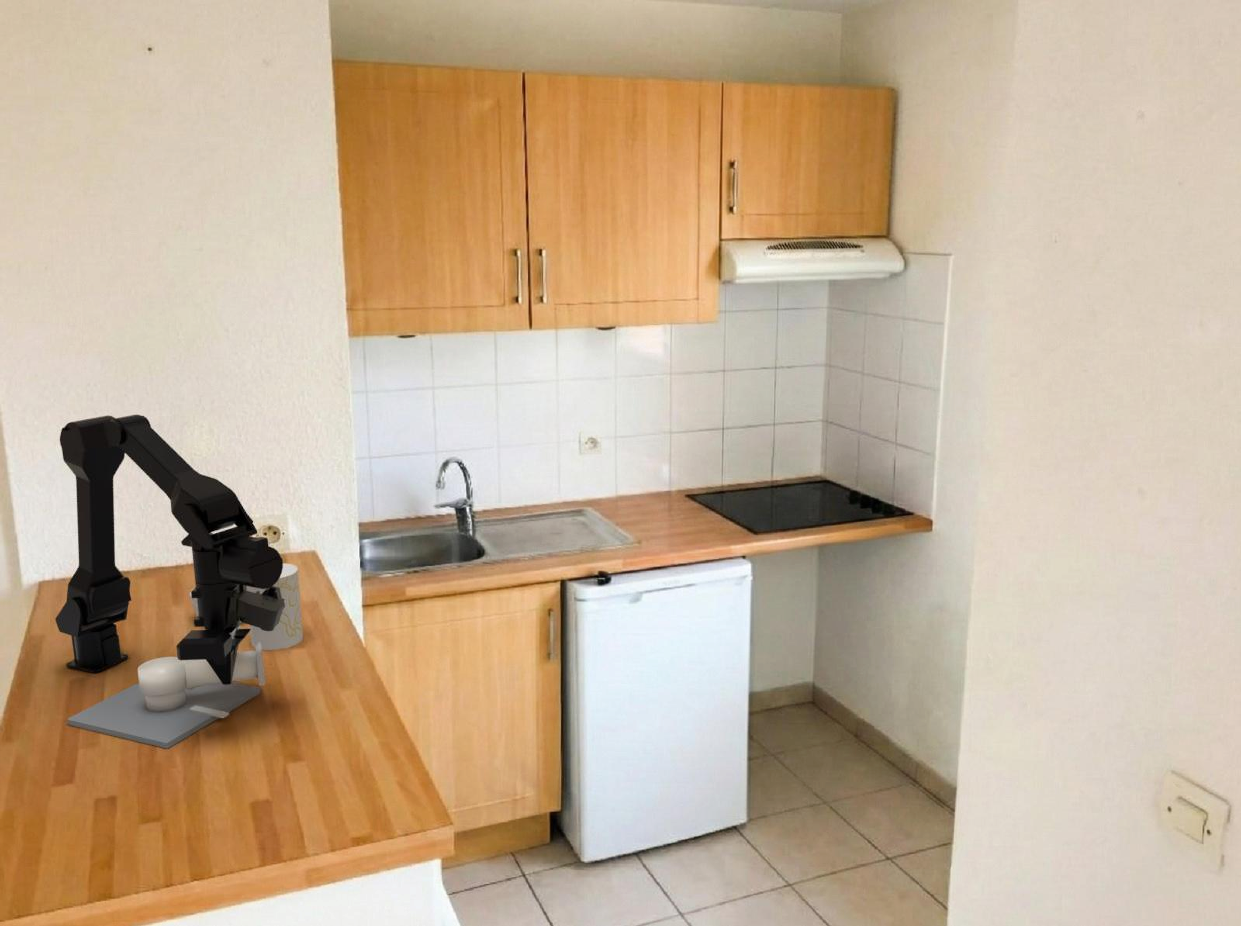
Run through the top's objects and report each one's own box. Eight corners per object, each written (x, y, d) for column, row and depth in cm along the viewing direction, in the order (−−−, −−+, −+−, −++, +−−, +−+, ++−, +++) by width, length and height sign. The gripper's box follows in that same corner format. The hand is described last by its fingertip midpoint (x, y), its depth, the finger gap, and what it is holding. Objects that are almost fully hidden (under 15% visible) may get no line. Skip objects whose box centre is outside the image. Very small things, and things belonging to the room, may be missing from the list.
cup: (287, 651, 173) (282, 581, 170) (241, 647, 174) (235, 577, 172) (311, 632, 181) (306, 564, 178) (267, 629, 182) (261, 561, 179)
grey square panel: (67, 724, 149) (64, 703, 148) (175, 668, 166) (173, 649, 166) (177, 751, 141) (175, 728, 141) (278, 690, 159) (277, 669, 158)
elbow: (139, 705, 149) (135, 673, 148) (141, 687, 155) (138, 656, 154) (265, 687, 155) (262, 656, 153) (262, 669, 160) (260, 639, 159)
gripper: (256, 597, 141) (266, 709, 144) (292, 557, 159) (301, 657, 162) (169, 600, 140) (181, 712, 143) (216, 560, 158) (226, 660, 162)
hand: (227, 684), depth 152 cm, fingers closed
